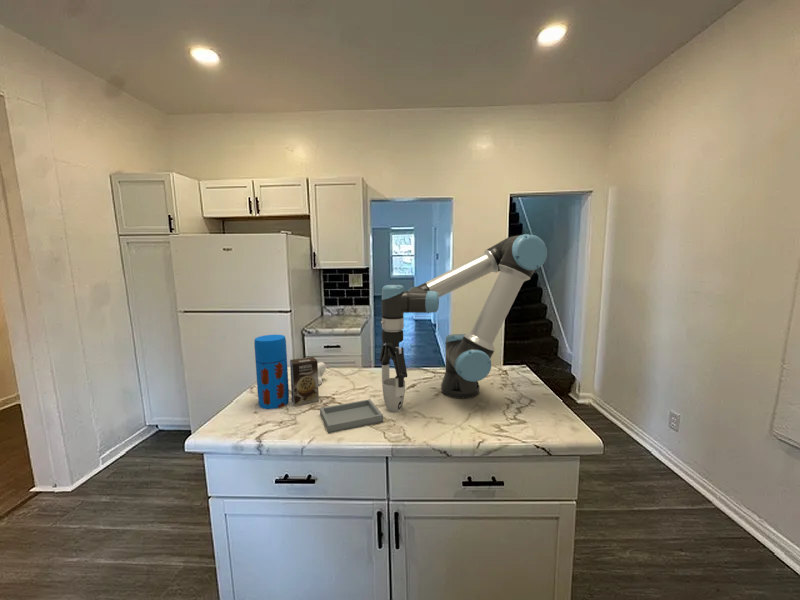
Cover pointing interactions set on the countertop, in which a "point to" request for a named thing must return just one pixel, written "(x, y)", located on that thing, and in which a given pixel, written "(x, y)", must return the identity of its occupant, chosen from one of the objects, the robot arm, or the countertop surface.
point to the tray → (350, 415)
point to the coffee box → (304, 381)
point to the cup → (392, 395)
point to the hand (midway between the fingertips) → (392, 388)
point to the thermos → (271, 371)
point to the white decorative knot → (321, 371)
